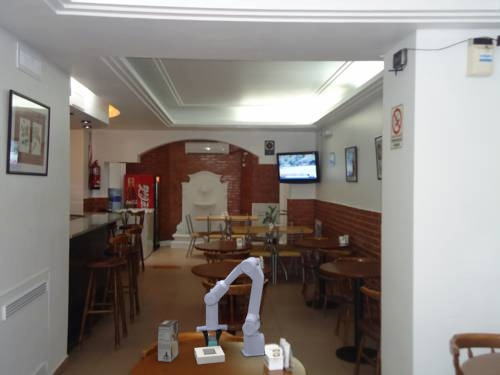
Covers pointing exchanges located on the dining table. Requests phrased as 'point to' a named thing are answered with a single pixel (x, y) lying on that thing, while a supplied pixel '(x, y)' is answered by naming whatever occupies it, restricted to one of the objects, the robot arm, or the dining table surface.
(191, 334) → the dining table surface
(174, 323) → the coffee box
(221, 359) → the block
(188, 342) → the dining table surface
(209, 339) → the plug
